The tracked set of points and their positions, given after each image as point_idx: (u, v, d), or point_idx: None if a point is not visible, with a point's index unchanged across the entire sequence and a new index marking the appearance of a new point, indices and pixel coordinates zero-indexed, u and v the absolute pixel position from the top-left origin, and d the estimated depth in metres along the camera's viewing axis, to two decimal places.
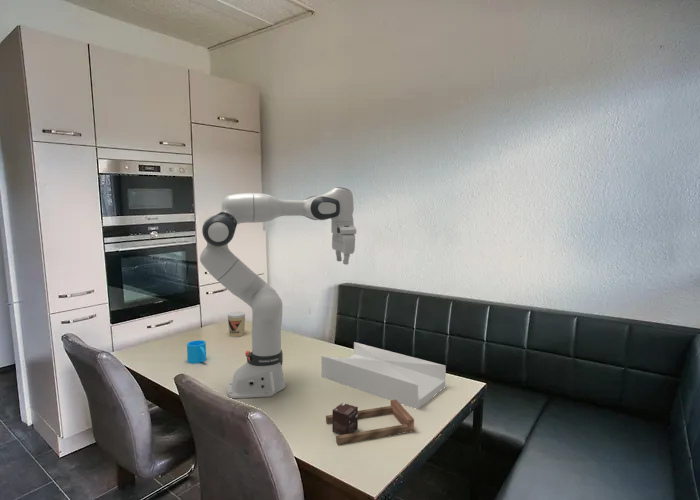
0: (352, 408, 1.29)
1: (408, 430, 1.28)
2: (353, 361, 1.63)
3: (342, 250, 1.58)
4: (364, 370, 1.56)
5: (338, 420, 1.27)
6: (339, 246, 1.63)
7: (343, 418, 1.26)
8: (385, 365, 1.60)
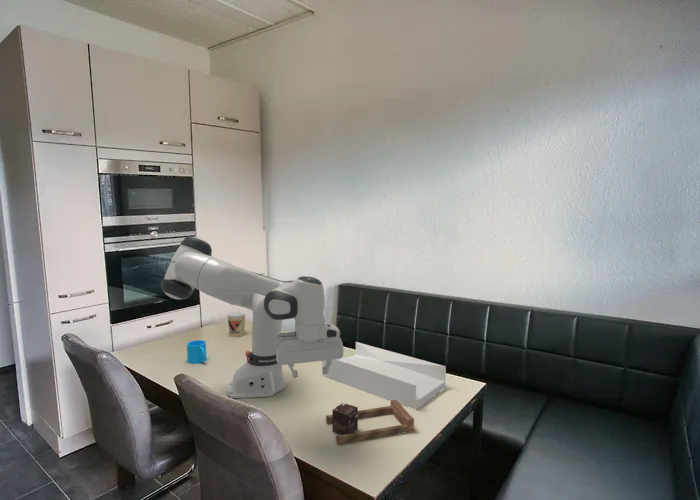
0: (352, 408, 1.29)
1: (408, 430, 1.28)
2: (353, 361, 1.64)
3: (331, 357, 1.24)
4: (363, 370, 1.56)
5: (338, 420, 1.27)
6: (315, 354, 1.22)
7: (343, 418, 1.26)
8: (385, 365, 1.60)
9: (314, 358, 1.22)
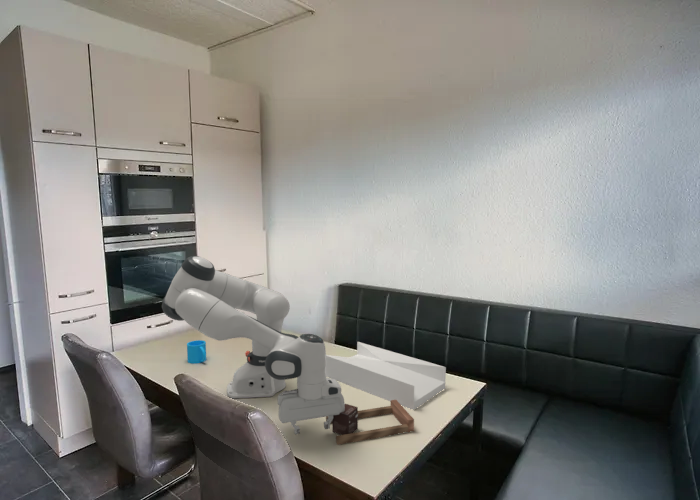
0: (352, 408, 1.29)
1: (408, 430, 1.28)
2: (353, 361, 1.64)
3: (333, 412, 1.26)
4: (363, 369, 1.57)
5: (338, 420, 1.27)
6: (317, 411, 1.24)
7: (343, 418, 1.26)
8: (384, 365, 1.60)
9: (316, 415, 1.24)
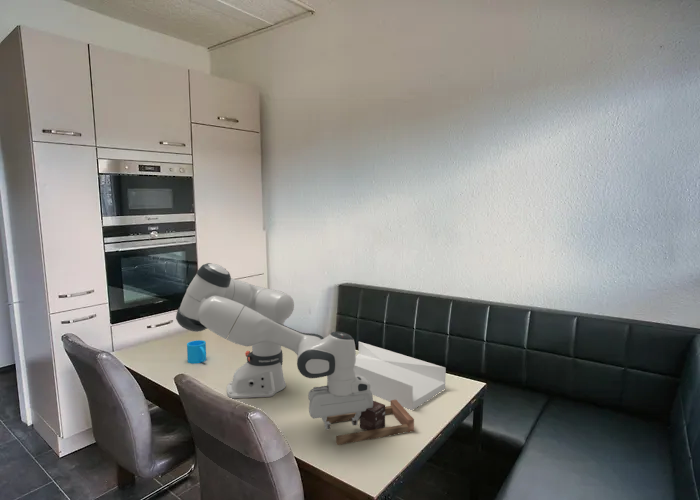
0: (379, 405, 1.30)
1: (408, 430, 1.28)
2: None
3: (361, 409, 1.28)
4: (362, 369, 1.57)
5: (365, 416, 1.29)
6: (346, 407, 1.27)
7: (369, 414, 1.28)
8: (384, 365, 1.60)
9: (345, 411, 1.27)
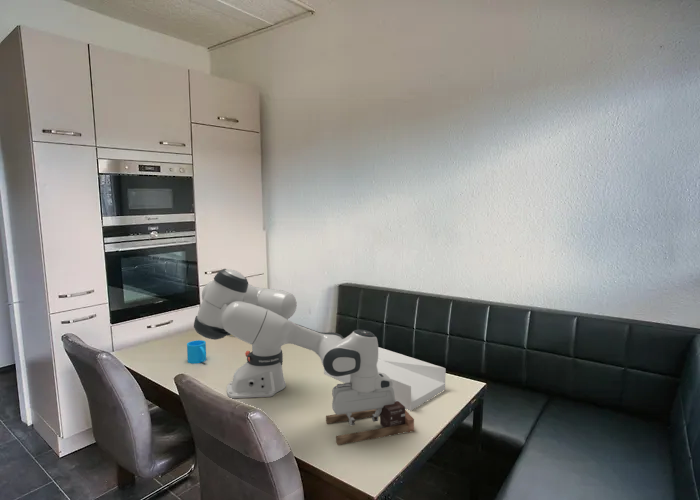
0: (399, 406, 1.30)
1: (408, 430, 1.28)
2: None
3: None
4: None
5: (383, 413, 1.31)
6: (369, 403, 1.29)
7: (386, 412, 1.29)
8: (384, 365, 1.60)
9: (368, 407, 1.29)
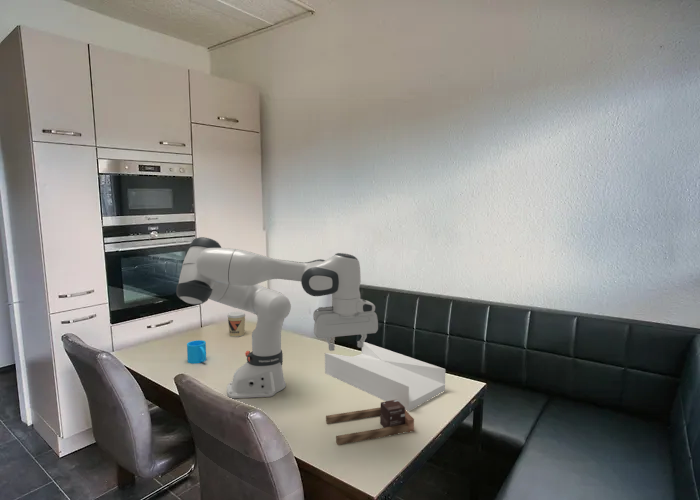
0: (398, 406, 1.30)
1: (408, 430, 1.28)
2: (353, 360, 1.65)
3: (366, 331, 1.28)
4: (361, 369, 1.57)
5: (383, 413, 1.31)
6: (351, 328, 1.27)
7: (385, 412, 1.29)
8: (383, 365, 1.60)
9: (350, 332, 1.27)
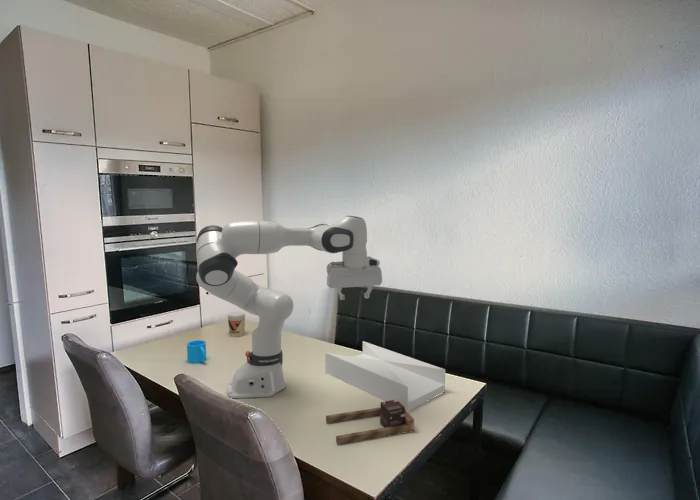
0: (398, 406, 1.30)
1: (408, 430, 1.28)
2: (353, 360, 1.65)
3: (372, 283, 1.48)
4: (361, 369, 1.58)
5: (383, 413, 1.31)
6: (359, 280, 1.47)
7: (385, 412, 1.29)
8: (383, 365, 1.60)
9: (358, 283, 1.47)
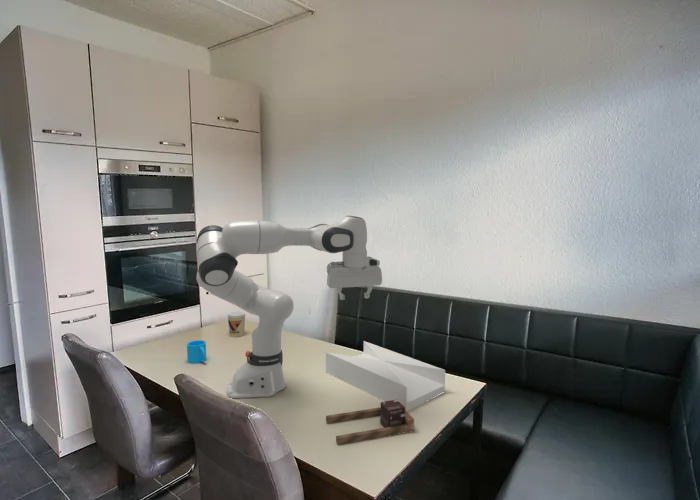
0: (398, 406, 1.30)
1: (408, 430, 1.28)
2: (353, 359, 1.65)
3: (372, 283, 1.49)
4: (361, 368, 1.58)
5: (383, 413, 1.31)
6: (359, 280, 1.47)
7: (385, 412, 1.29)
8: (383, 365, 1.60)
9: (358, 283, 1.47)
